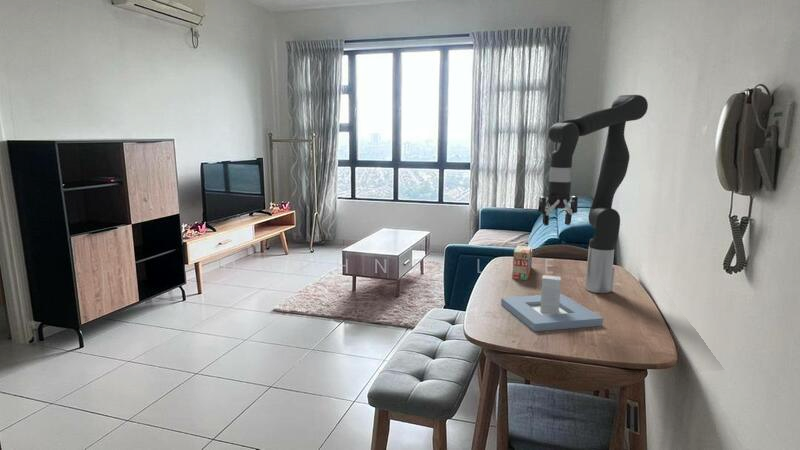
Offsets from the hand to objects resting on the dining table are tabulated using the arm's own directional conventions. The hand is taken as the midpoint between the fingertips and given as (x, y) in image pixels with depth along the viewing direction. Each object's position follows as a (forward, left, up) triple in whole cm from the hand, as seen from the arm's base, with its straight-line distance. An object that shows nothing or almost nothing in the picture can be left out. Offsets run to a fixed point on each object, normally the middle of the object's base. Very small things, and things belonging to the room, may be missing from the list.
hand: (556, 224), depth 167 cm
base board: (+9, +14, -28) cm, 33 cm away
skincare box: (+9, +14, -27) cm, 32 cm away
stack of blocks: (-5, -33, -28) cm, 44 cm away
